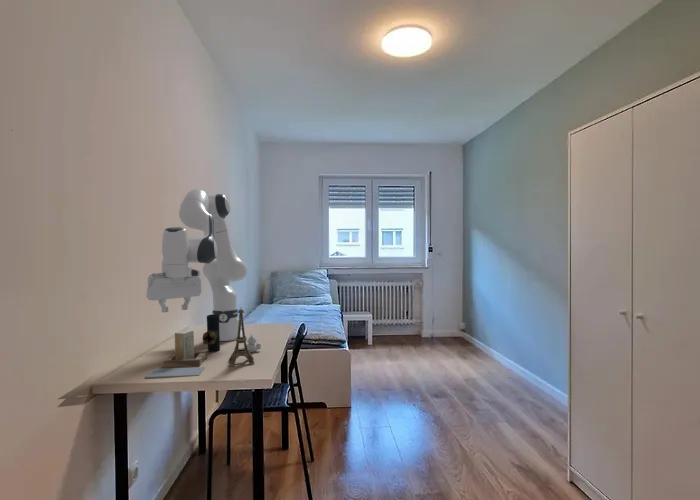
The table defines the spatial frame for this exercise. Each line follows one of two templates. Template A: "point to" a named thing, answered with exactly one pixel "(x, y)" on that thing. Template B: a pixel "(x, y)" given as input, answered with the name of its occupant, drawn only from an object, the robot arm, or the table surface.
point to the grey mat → (175, 372)
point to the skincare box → (184, 345)
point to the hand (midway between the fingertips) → (175, 310)
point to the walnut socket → (184, 361)
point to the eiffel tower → (239, 339)
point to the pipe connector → (212, 333)
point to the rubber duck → (253, 345)
